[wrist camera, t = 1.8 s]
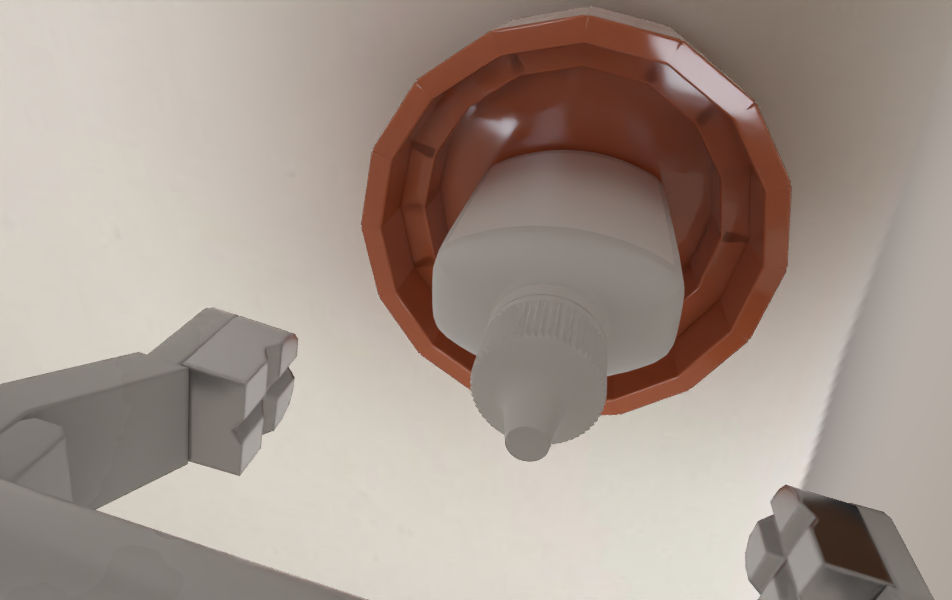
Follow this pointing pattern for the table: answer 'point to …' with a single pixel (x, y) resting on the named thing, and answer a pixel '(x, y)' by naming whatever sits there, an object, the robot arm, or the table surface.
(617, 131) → the bowl
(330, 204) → the table surface
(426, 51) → the table surface
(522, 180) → the eye dropper bottle
